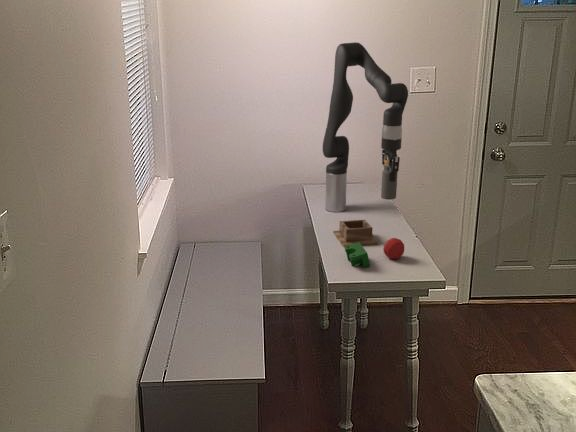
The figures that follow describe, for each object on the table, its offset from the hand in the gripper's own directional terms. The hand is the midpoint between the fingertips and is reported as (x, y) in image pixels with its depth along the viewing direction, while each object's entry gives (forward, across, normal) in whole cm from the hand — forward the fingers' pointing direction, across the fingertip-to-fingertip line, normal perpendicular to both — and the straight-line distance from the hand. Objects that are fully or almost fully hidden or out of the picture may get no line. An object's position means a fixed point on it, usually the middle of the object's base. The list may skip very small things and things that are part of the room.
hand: (389, 179), depth 259 cm
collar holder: (+24, 0, -13) cm, 27 cm away
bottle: (+8, 0, 0) cm, 8 cm away
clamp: (+24, +24, -20) cm, 39 cm away
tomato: (+24, +22, -5) cm, 33 cm away
